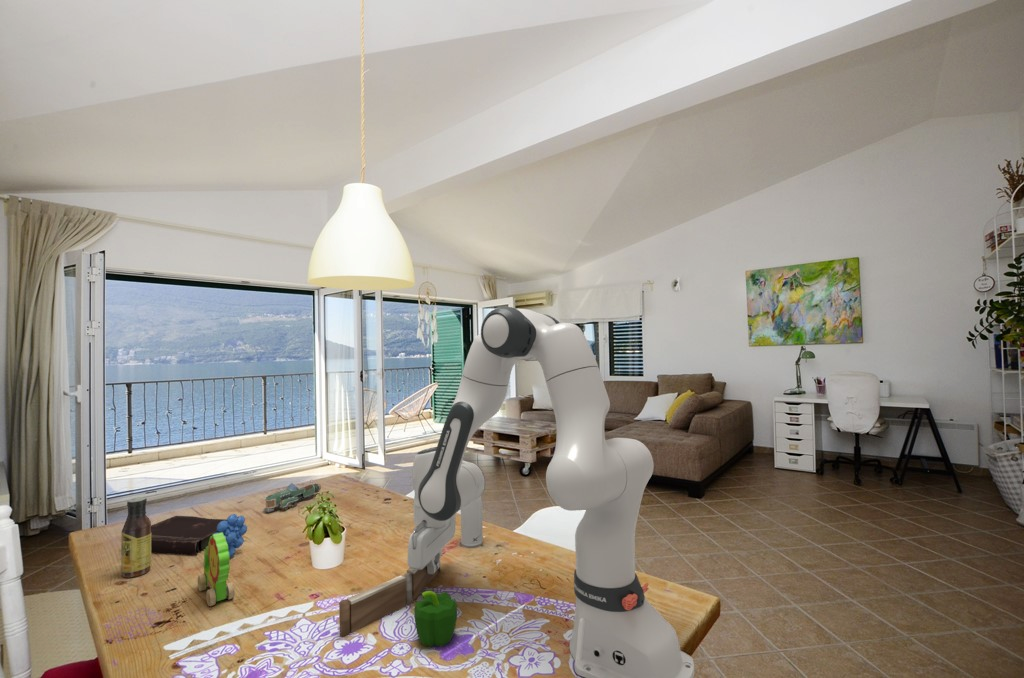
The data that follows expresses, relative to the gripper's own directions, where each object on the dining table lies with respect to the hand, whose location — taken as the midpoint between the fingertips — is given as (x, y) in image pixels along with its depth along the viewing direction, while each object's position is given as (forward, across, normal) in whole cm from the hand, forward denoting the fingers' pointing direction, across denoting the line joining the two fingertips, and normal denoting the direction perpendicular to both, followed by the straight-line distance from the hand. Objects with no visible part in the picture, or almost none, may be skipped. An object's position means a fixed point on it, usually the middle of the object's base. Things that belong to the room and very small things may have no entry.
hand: (433, 571), depth 114 cm
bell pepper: (+4, -20, -10) cm, 22 cm away
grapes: (+3, +2, +65) cm, 65 cm away
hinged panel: (+3, -1, +2) cm, 4 cm away
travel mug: (+4, +24, -1) cm, 25 cm away
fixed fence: (+3, -16, +6) cm, 17 cm away
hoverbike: (+3, +47, +80) cm, 93 cm away
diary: (+3, +9, +89) cm, 89 cm away
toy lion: (+3, -15, +50) cm, 52 cm away
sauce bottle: (+3, -11, +81) cm, 82 cm away
